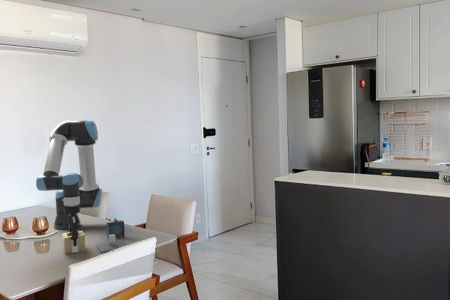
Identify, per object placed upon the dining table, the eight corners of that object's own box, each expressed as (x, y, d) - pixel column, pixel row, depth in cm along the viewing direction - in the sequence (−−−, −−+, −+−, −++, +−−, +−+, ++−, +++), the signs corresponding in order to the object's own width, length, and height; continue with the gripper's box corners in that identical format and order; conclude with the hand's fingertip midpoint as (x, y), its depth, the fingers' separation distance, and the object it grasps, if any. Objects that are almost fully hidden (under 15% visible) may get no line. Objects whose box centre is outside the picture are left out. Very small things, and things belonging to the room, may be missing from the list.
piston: (96, 245, 214) (95, 233, 213) (123, 241, 220) (122, 230, 219) (101, 253, 201) (100, 241, 201) (129, 248, 207) (129, 236, 207)
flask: (107, 239, 224) (106, 219, 223) (107, 237, 227) (106, 218, 226) (124, 237, 227) (124, 218, 226) (124, 236, 230) (123, 217, 229)
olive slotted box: (62, 248, 209) (62, 233, 209) (82, 245, 213) (81, 230, 213) (64, 254, 201) (64, 237, 200) (85, 251, 205) (84, 235, 204)
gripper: (61, 201, 213) (63, 244, 215) (66, 210, 194) (68, 256, 195) (77, 200, 217) (78, 242, 219) (82, 208, 197) (85, 254, 199)
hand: (73, 249), depth 207 cm, fingers closed on olive slotted box, 9 cm apart
